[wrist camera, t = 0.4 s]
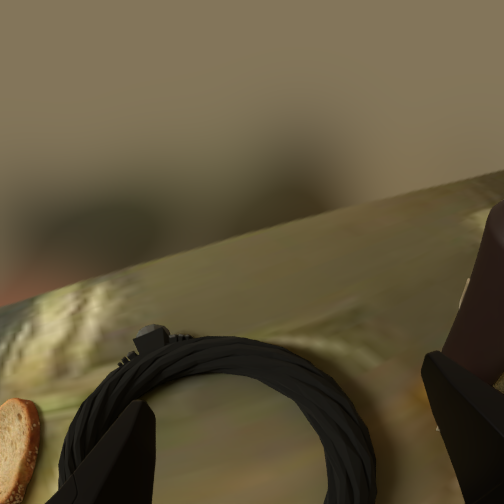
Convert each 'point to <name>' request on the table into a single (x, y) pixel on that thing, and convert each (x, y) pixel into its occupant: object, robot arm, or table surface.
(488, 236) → the vinegar
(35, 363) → the table surface
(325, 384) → the cable lock
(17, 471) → the bread slice
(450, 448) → the robot arm
